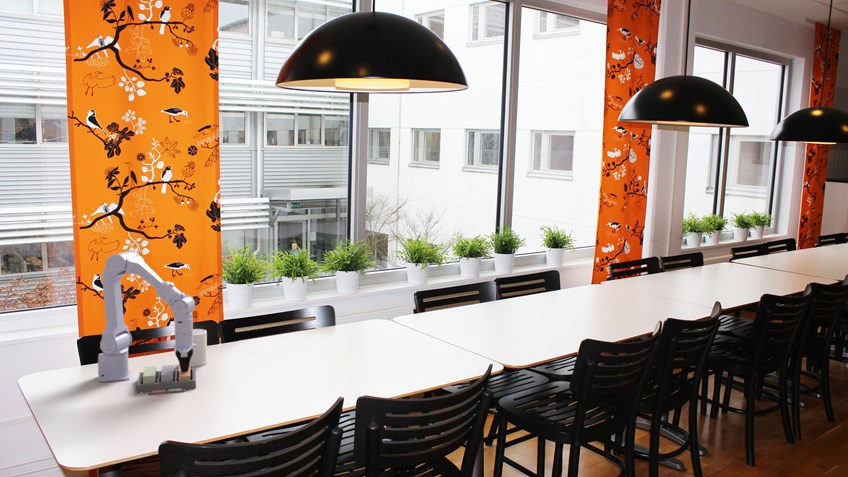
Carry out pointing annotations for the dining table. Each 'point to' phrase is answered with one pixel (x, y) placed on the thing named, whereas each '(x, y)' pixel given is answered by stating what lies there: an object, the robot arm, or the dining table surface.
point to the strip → (166, 391)
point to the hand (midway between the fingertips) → (184, 371)
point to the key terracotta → (184, 375)
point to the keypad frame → (166, 385)
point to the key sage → (149, 375)
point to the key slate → (167, 373)
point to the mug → (199, 348)
